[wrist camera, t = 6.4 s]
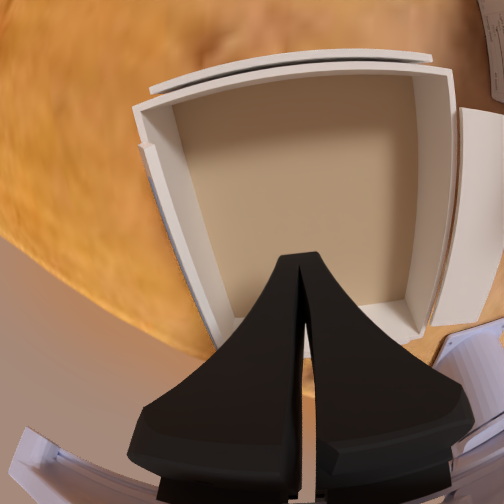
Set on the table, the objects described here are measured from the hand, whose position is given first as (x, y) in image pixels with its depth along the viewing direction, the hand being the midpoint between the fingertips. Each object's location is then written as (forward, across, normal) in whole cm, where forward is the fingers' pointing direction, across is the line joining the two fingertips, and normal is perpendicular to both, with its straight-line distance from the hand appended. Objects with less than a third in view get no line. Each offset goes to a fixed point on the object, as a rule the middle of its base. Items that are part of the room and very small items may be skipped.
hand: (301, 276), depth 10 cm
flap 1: (0, +4, 0) cm, 4 cm away
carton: (+5, -1, 0) cm, 5 cm away
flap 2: (+1, -9, 0) cm, 9 cm away
